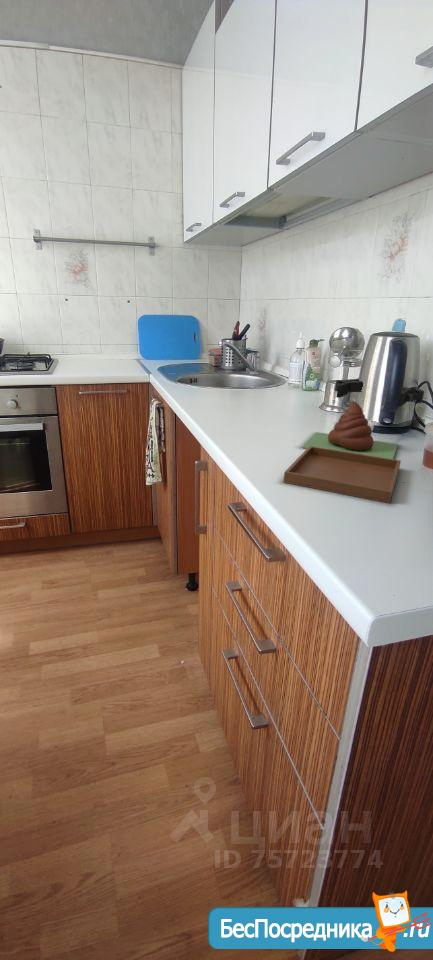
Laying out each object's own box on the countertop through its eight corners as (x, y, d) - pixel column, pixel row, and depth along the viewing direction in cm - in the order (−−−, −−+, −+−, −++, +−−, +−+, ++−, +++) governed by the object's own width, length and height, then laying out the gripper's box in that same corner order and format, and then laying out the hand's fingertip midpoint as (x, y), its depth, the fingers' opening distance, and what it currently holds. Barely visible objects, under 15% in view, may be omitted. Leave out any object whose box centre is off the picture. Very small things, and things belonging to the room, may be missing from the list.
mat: (397, 445, 102) (397, 444, 102) (391, 462, 91) (392, 461, 91) (316, 433, 109) (316, 432, 109) (302, 447, 98) (302, 446, 98)
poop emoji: (318, 441, 101) (324, 399, 98) (345, 436, 106) (351, 395, 102) (355, 454, 94) (362, 409, 90) (382, 448, 98) (389, 404, 95)
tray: (398, 470, 87) (400, 460, 86) (389, 503, 72) (391, 492, 72) (308, 454, 93) (309, 445, 93) (283, 482, 79) (284, 472, 78)
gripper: (439, 405, 115) (425, 421, 98) (340, 391, 127) (313, 404, 110) (445, 374, 113) (432, 385, 96) (344, 363, 124) (316, 372, 107)
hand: (368, 395), depth 103 cm, fingers open, 13 cm apart
